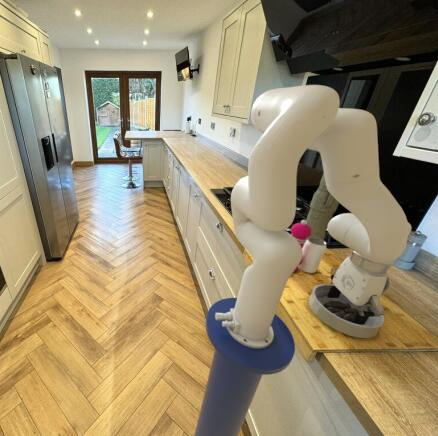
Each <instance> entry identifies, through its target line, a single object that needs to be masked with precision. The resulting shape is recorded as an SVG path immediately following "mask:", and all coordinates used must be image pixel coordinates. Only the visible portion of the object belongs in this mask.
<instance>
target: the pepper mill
mask: <svg viewBox="0 0 438 436" xmlns="http://www.w3.org/2000/svg"><path fill="white" fill-rule="evenodd" d="M306 224H307V221H306V219H302V220H301V221H300V222H297V223H294V224H292V226H291V228H290V234H291V235H292V236H293V237H294V238H295V239H296V240H297V241H298V242H299V244H300V246H301V248H302V249H303V247H302V246H303V244H304V243H305V242H306V240H307V237H309V236H310V235H311V228H310V227H309V226H308V225H306ZM302 260H303V255H302V259H301V261H300V263H299V265H300V264H301V263H302ZM298 269H299V268H298V266H297V267H296V269H295V270H294V271H293V273H296V272H297V271H298ZM293 273H292V274H293Z"/></svg>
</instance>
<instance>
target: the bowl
mask: <svg viewBox="0 0 438 436" xmlns="http://www.w3.org/2000/svg"><path fill="white" fill-rule="evenodd" d="M331 287H332V286H331V285H330V283H321V284H317V285H315V286H314V287H313V288H312V291H311V293H310V295H309V296H308V297H309V298H308V302H307V303H308V306H309V308H310V310H311V311H312V313H313V314H314V316H316V317H317V318H318V319H319V320H320V321H321V322H322V323H324V324H325V325H327V326H328V327H329V328H332V329H333V330H335V331H336V332H340V333H342V334H344V335H347V336H350V337H353V338H358V339H369V338H372V337H376V335H377V334H378V332H379V331H380V329H381V328H382V326H383V325H384V323H385V316H384V315H381V316H379V317H369V318H368V319H367V321H366V323H365V324H364V325H359V324H355V323H351V322H349V321H346V320H344V319H342V318H340V317H338V316H336V315H335V314H333V313H331V312H330V311H329V310H327V309H326V308H325V307H324V303H326V302H329V301H340V302H342V303H348V304H350V305H351V308H356V309H357V310H358V306H357V305H354V304H353V303H352V302H351V301H350V300H349V299H348V298H347V297H346V296H345V295H344V294H343V293H342V292H341V294H340V296H339V298H328V297H327V294H328V292H329V290H330V288H331ZM372 308H373V306H372ZM373 310H374V308H373ZM358 311H359V310H358ZM364 311H367V308H366V306H364ZM340 313H344V309H340Z"/></svg>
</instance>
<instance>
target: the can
mask: <svg viewBox="0 0 438 436" xmlns="http://www.w3.org/2000/svg"><path fill="white" fill-rule="evenodd" d="M326 250H327V242H326V240H325V239H324V240H322V239H319V238H315V237H309V238H308V240H306V242H305V244H304V246H303V247H302V252H303V260H302V263H301V264H300V265H298V269H299V270H300V271H302V272H304V273H307V274H314V273H316V272H317V271H318V268H319V267H320V264H321V262H322V259H323V257H324V255H325V254H326Z"/></svg>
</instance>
